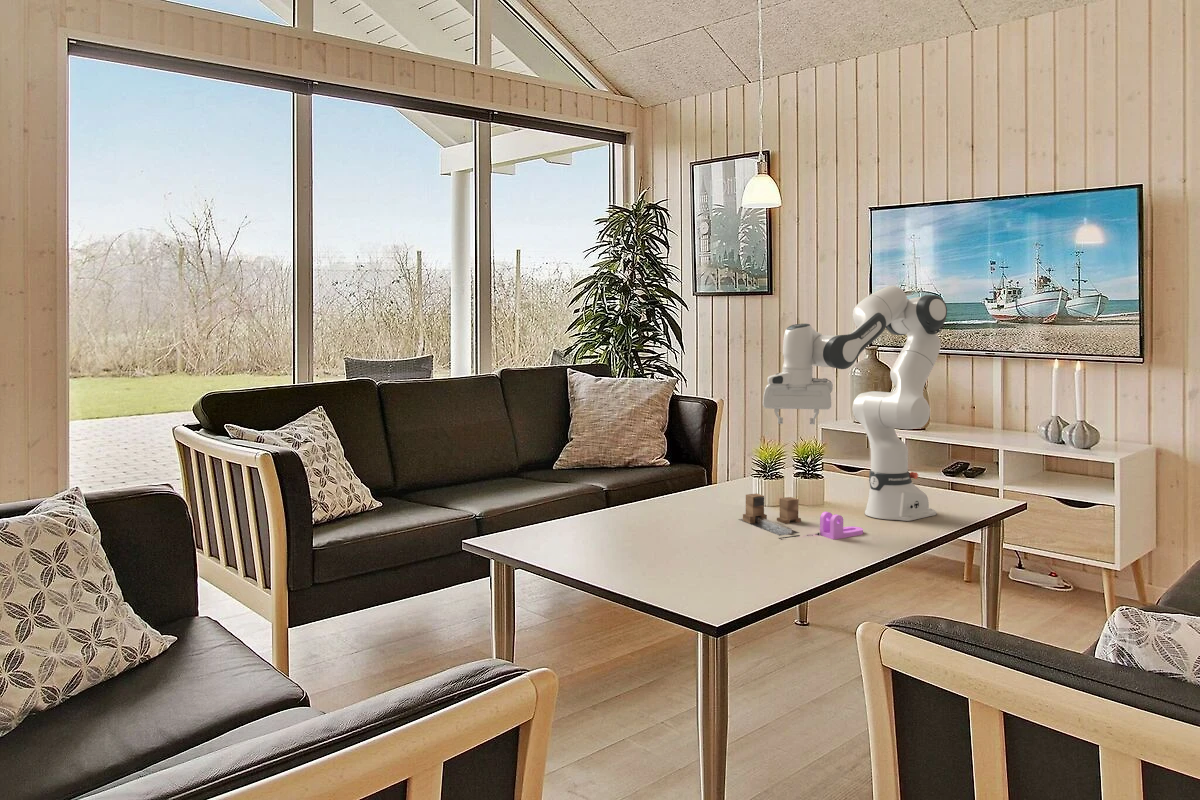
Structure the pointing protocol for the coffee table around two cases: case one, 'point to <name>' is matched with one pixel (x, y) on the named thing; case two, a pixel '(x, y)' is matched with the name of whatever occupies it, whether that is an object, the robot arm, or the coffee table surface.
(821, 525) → the bracket
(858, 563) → the coffee table surface
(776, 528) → the rail
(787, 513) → the loose finger
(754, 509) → the fixed finger
